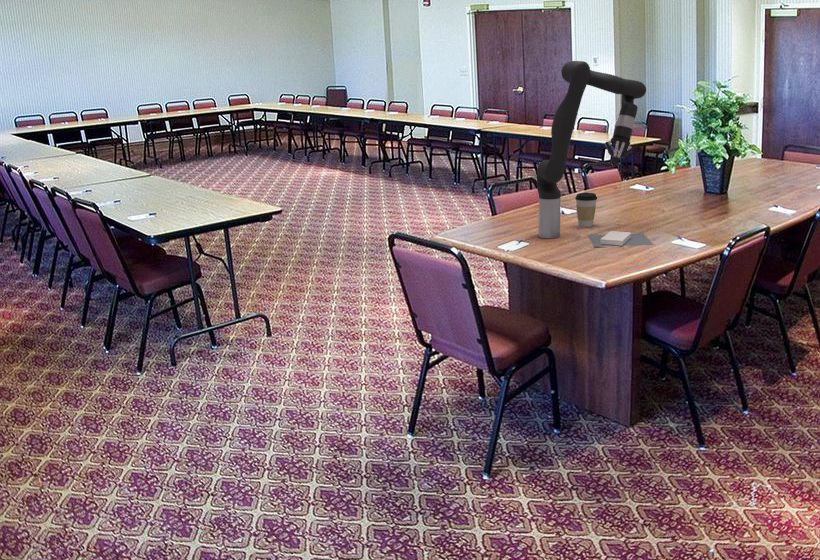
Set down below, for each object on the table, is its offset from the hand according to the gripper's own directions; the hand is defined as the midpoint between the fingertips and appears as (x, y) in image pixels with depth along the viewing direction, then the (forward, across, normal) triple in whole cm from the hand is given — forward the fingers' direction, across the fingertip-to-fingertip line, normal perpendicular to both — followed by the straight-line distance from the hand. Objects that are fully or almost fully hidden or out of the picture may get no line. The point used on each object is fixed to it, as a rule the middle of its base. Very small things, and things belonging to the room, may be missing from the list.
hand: (613, 166), depth 338 cm
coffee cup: (+27, -4, +16) cm, 32 cm away
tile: (+29, +9, -7) cm, 31 cm away
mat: (+32, +9, -11) cm, 35 cm away
